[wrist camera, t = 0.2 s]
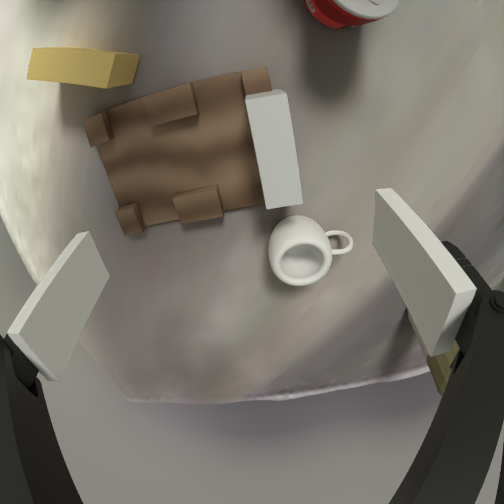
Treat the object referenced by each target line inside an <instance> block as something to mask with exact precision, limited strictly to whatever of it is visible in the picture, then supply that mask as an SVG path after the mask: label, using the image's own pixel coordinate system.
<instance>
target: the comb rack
mask: <svg viewBox="0 0 504 504" xmlns="http://www.w3.org/2000/svg"><path fill="white" fill-rule="evenodd" d="M269 91H272V89H271V84H270V78H269V73H268V68H267V67H264V68H257V69H251V70H246V71H241V72H236V73H231V74H226V75H221V76H217V77H212V78H208V79H204V80H200V81H196V82H192V83H188V84H184V85H180V86H177V87H173V88H170V89H166V90H163V91H160V92H156V93H153V94H150V95H147V96H144V97H141V98H139V99H136V100H133V101H130V102H127V103H124V104H122V105H119V106H116V107H114V108H111V109H109V110H106V111H103V112H101V113H98V114H96V115H93V116H91V117H89V118H86V119H84V120H83V124H84V127H85V130H86V133H87V137H88V140H89V143H90V146H91V147H93V146H96V145H97V146H98V149H99V152H100V155H101V158H102V161H103V163H104V166H105V169H106V172H107V175H108V177H109V180H110V183H111V186H112V188H113V191H114V194H115V196H116V199H117V201H118V204H119V208H118V209H117V210H116V212H115V213H116V216H117V218H118V221H119V223H120V225H121V228H122V230H123V232H124V235H125V236H127V235H132V234H137V233H141V232H143V231H144V229H145V227H146V226H149V225H154V224H158V223H163V222H168V221H173V220H178V219H179V220H180V223H181V224H186V223H192V222H197V221H202V220H208V219H213V218H219V217H223V216H224V211H225V210H231V209H236V208H242V207H248V206H253V205H259V204H265V198H264V193H263V188H262V183H261V177H260V172H259V167H258V162H257V157H256V152H255V147H254V142H253V137H252V132H251V127H250V122H249V117H248V112H247V107H246V102H245V98H246V95H251V94H257V93H263V92H269Z"/></svg>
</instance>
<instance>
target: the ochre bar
mask: <svg viewBox="0 0 504 504" xmlns="http://www.w3.org/2000/svg"><path fill="white" fill-rule="evenodd" d="M139 59H140V55H136V54H130V53H123V52H115V51H107V50H97V49H86V48H71V47H50V48H33V50H32V54H31V59H30V64H29V69H28V74H27V80H40V81H52V82H61V83H70V84H78V85H86V86H92V87H99V88H105V89H107V88H112V87H117V86H122V85H128V84H133V80H134V76H135V73H136V69H137V65H138V62H139Z"/></svg>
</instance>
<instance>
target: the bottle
mask: <svg viewBox="0 0 504 504" xmlns="http://www.w3.org/2000/svg"><path fill="white" fill-rule="evenodd" d="M407 315H408V318H409V320H410V323H411V325H412V327H413V330H414V332H415V334H416V336H417V339H418V341H419V344H420V346H421V348H422V351H423V353H424V356H425V358H426V361H427V363H428V366H429V368H430V371H431V374H432V376H433V379H434V382H435V384H436V387H437V390H438V392H439V393H440V395H442V396H443V393H444V391H445V388H446V385H447V382H448V379H449V376H450V373H451V370H452V369H451V368H449V367H450V365H451V363H452V362H453V360H454V358H455V356H456V354H457V352H458V351H459V349H460V348H459V346H458V344H457V342H456V340H455V341H454V343H453V345H452V347H451V349H450V351H449V352H446V353H443V354H439V355H436V356H432V357H430V355H429V353H428V351H427V348H426V346H425V344H424V342H423V340H422V337H421V335H420V333H419V331H418V329H417V327H416V325H415V323H414V321H413V318H412V316H411V314H410V312H409V310H408V308H407Z"/></svg>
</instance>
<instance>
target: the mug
mask: <svg viewBox="0 0 504 504" xmlns="http://www.w3.org/2000/svg"><path fill="white" fill-rule="evenodd" d="M331 235H340V236H343V237H345V238H346V239H347V241H348V246H347V247H346V248H343V249H331V245H330V242H329V239H328V236H331ZM352 247H353V240H352V238H351V236H350V235H349V234H347V233H346V232H343V231H339V230H332V231H328V232H325V231H324V230H323V229H322V227H321V226H320V225H319V224H318V223H316V222H315V221H314V220H312V219H311V218H308V217H305V216H301V215H294V216H290V217H287V218H285V219H283V220H282V221H280V222H279V223H278V224H277V225H276V227H275V228H274V230H273V232H272V234H271V236H270V240H269V245H268V256H269V261H270V265H271V268H272V270H273V272H274V273H275V275H276V276H277V277H278V278H279V279H280V280H281V281H283V282H284V283H286V284H289V285H293V286H306V285H310V284H313V283H315V282H317V281H319V280H320V279H321V278H323V277H324V276H325V275H326V273H327V272H328V270H329V268H330V265H331V262H332V255H342V254H345V253H348V252H349V251H350V250H351V249H352Z"/></svg>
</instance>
